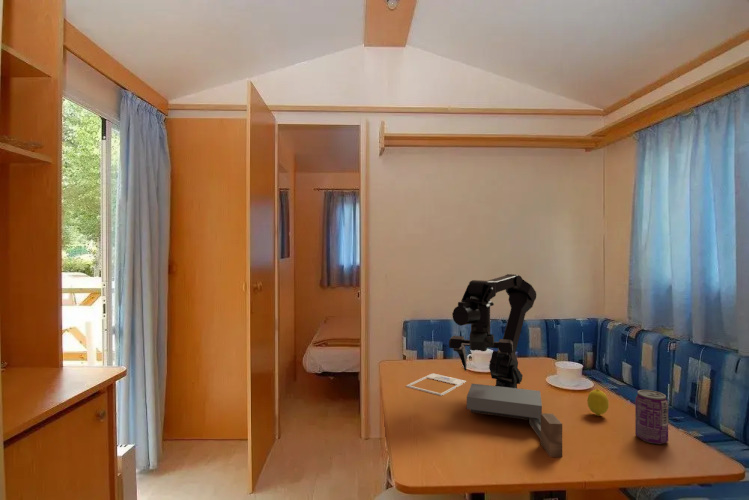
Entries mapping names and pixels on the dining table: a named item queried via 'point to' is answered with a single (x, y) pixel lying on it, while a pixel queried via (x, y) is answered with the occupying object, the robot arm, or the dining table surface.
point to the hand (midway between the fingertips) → (480, 371)
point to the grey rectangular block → (504, 401)
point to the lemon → (598, 402)
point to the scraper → (549, 433)
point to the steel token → (538, 421)
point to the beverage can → (651, 416)
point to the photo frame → (439, 378)
